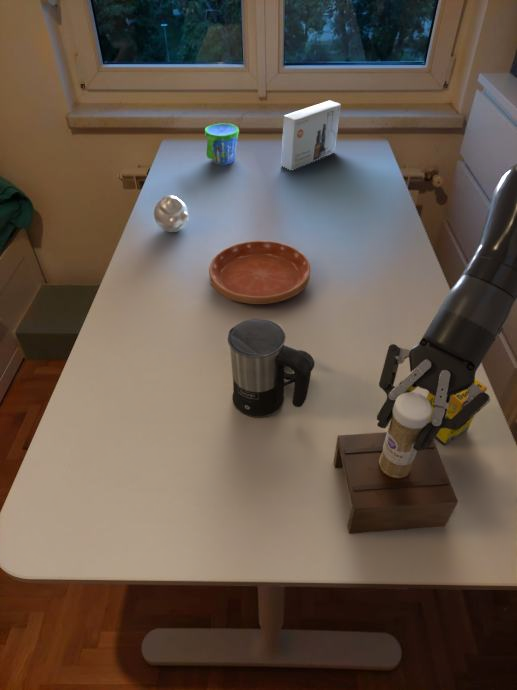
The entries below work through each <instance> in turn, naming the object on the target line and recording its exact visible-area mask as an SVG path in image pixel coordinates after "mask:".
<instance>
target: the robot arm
mask: <svg viewBox="0 0 517 690" xmlns="http://www.w3.org/2000/svg"><path fill="white" fill-rule="evenodd" d="M464 268H465V269H464V270H463V272H462V273H461V275H460V277H459V278H458V280H456V282H455V284H454V285H453V286H452V287H451V289H450V290H449V292H448V293H447V295H446V296H445V298H444V300H443V302H442V303H441V305H440V307H439V308H438V310H437V312H436V313H435V315H434V317H433V319H432V320H431V322H430V324H429V325H428V327H427V329H426V330H425V332H424V334H423V336H422V338H421V339H420V341H419V343H418V344H417V345H415V346H413V347H412V348H411V349H409V348H405V347H400V346H398V345H397V344H394V343H392V344H389V346H388V348H387V351H386V355H385V359H384V363H383V367H382V371H381V374H380V378H379V381H378V382H379V383H378V386H379V388H380V389H382V391H383V392H384V393H385V394H386V400H385V401H384V403H383V405H382V406H381V408H380V410H379V412H378V413H377V415H376V420H377V421H378V423H377V426H378V427H379V428H381V429H386V428H387V427H389V425H390V423H391V419H392V416H393V407H394V403H395V401H396V399H397V397H398V396H400V395H401V394H403V393H408V392H413V391H415V390H416V389H417V388H420V389H422V390H423V389H424V390H427V392H428V393H429V392H430V393H431V394H432V395H434V396H436V397H435V402H434V410H433V415H432V420H431V422H430V423H427V425H426V426H425V428H424V429H423V431H422V433H421V434H420V436H419V438H418V439H417V441H416V443H415V444H414V446H413V448H414V449H415V450H417V451H421V449H427V448H428V447H430V445H431V443H432V442H433V440H434V441H435V437H436V435H437V433H438V432H439V430H440V429H442V428H447V429H451V430H458V429H460V428H461V427H462V426H463V425H464V424H465V423H466V422H467V421H469V420H470V419H471V418H472V417H473V416H474V417H475V415H477V414H478V413H479V412H480V411H481V410H482V409H483V408H485V407H486V405H488V404H489V403H490V401H491V396H490V395H489V394H488V393H486V392H485V393H484V392H483V391H482V390H481V389H480V388H479V387H478V386H476V385H475V384H474V382H475V379H476V373H477V370H478V369H479V368H480V366H481V364H482V362H483V361H484V359H485V357H486V356H487V354H488V352H489V351H490V349H491V347H492V346H493V344H494V342H495V341H496V339H497V337H498V336H499V335H501V332H503V329H504V326H505V324H506V322H507V320H508V319H509V317H510V314H511V312H512V309H513V307H514V306H515V303H516V301H517V163H515V164H514V165H513V166H511V167H510V168H509V169H508V170H507V171H506V172H505V173H504V174H503V175H502V176H501V177H500V179H499V181H498V182H497V184H496V186H495V188H494V189H493V192H492V194H491V198H490V202H489V205H488V209H487V214H486V217H485V221H484V225H483V228H482V231H481V234H480V238H479V242H478V245H477V247H476V250H475V251H474V253H473V255H472V257H471V258H470V259H469V261H468V263H467V265H466V267H464ZM406 359H408V360H409V371H410V372H409V374H408V375H406V376H405V377H403V379H402V380H401V381H400V382H399V384H397V385H396V386H395V385H394V384H395V380H396V376H397V374H398V373H397V372H398V369H399V365H402V364H403V363H404V362H405V360H406ZM466 389H469V395H468V396H467V401H468V402H469V403H468V404H467V405H466V406H465V407H464V408H463V409H462V410H461V411H459V412H458V413H457V414H456V415H455V416H454V417H453V418H452V419H448V418H446V415H447V410H448V408H449V404H450V399H451V396H452V395H454V394H456V393H459V392H461V391H464V390H466Z"/></svg>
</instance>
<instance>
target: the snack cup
mask: <svg viewBox="0 0 517 690" xmlns="http://www.w3.org/2000/svg"><path fill="white" fill-rule="evenodd" d="M239 133H240V129H239V127H238V126H237V125H235V124H232V123H227V122H219V123H218V122H217V123H213V124H210V125H208V126H206V127H205V129H204V135H205V137H206V139H207V143H206V144H207V145H206V157H207V158H208V159H209V160H211V161H212V162H213V163H215V164H216V165H231V164H232V163H233V162H234V161H235V159H236V153H237V144H238V141H239V136H238V135H239Z"/></svg>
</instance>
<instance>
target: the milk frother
mask: <svg viewBox="0 0 517 690" xmlns="http://www.w3.org/2000/svg"><path fill="white" fill-rule="evenodd" d="M227 334H228V335H227V344H228V346H229V351H230V359H231V361H230V362H231V373H232V383H233V384H232V385H233V386H232V387H233V388H232V389H233V392H232V402H233V405H234V407H235V408H236V410H237V411H239V412H240V413H241V414H243V415H245V416H247V417H252V418H263V417H268V416H272V415H273V414H275V413H276V412H278V410H279V409H280V408H281V407H282V406H283V404H284V402H285V401H284V400H285V388H286V387H287V386H289V385H292V384H293V383H294V386H293V393H292V406H293V407H295V408H301V407H303V405H304V404H305V402H306V400H307V397H308V393H309V392H308V391H309V386H310V382H311V374H312V371H313V370H314V368H315V360H314V358H313V356H312V354H310V353H309V352H307V351H305V350H301V349H296V348H292V347H290V346H287V345H285V343H286V333H285V331H284V329H283V328H282V327H281V326H280V325H279V324H278V323H276V322H274V321H272V320H268V319H266V318H265V319H264V318H250V319H246V320H242V321H240V322H238V323H236V325H234V326H233V327H231V328H230V329H229V331H228V333H227ZM286 368H288V369H289V370H291V371H292V372H293V373H292V372H291V373H290V372H286V370H285V369H286ZM286 380H287V381H286Z"/></svg>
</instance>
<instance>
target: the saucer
mask: <svg viewBox="0 0 517 690" xmlns="http://www.w3.org/2000/svg"><path fill="white" fill-rule="evenodd" d="M208 268H209V269H208V273H209V280H210V283H211V284H212V286H213V288H214V290H216V291H217V292H218V293H219V294H221V295H222V296H223V297H225V298H228V299H229V300H232V301H235V302H239V303H243V304H249V305H251V304H252V305H267V304H274V303H279V302H282V301H286V300H288V299H291V298H293V297H294V296H296V295H298V294H299V293H300V292H302V291H303V290H304V289H305V288H306V286H307V285H308V283H309V281H310V276H311V264H310V261H309V259H308V258H307V257H306V255H305V254H304V253H303V252H301V251H300V250H298V249H297V248H295V247H293V246H291V245H288V244H285V243H281V242H277V241H271V240H254V241H253V240H252V241H246V242H241V243H237V244H234V245H231V246H228V247H226V248H224V249H223V250H221V251H220V252H219V253H217V254H216V255H215V256H214V257H213V259H212V260H211V261H210V264H209V267H208Z"/></svg>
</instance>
